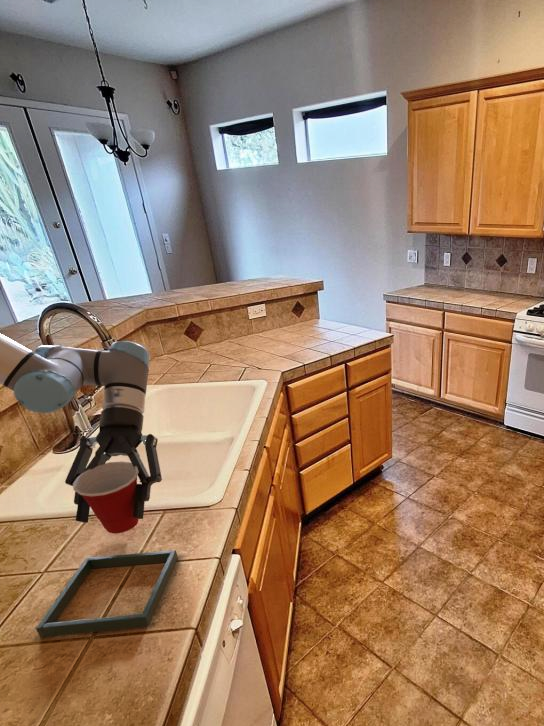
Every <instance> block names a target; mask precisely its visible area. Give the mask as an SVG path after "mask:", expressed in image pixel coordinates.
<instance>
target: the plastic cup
mask: <svg viewBox="0 0 544 726" xmlns="http://www.w3.org/2000/svg"><path fill="white" fill-rule="evenodd" d="M134 467H135V469H134ZM134 467H133V465H132V463H131V461H130V462H129V461H123V460H122V461H112V462H106V463H105V464H102V465H98V466H96V467H95V468H93V469H89V470H87V471H85V472H84V473H82V474H81V475H80V476H78V477H77V478H76V480H75V481H74V483H73V486H72V488H73V491H74V492H75V491H76V492H77V493H79V494H80V495H81V496H83V498H84V499H85V500H86V501H87V503H88V504H89V506H90V509H91V510H92V512H93V513H94V515H95V516H96V517H95V518H97V520H98V521H99V522H100V523H101V525H102V527H103V529H104V530H106V532H107V533H109V534H114V535H115V534H122V533H125V532H128V531H130V530H132V529H134V528H135V527H136V526H137V525H138V523H139V519H137V518H134V517H133V509H134V499H135V490H136V484H138V473H139V471H138V468H137V466H134Z"/></svg>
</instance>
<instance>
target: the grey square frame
mask: <svg viewBox="0 0 544 726" xmlns="http://www.w3.org/2000/svg"><path fill="white" fill-rule="evenodd" d="M178 560H179V556H178V553H177V550H176V549H175V550H174V549H173V550H165V551H164V550H162V551H151V552H149V551H148V552H139V553H138V552H137V553H126V554H116V555H115V554H114V555H102V556H92V557H86V558H85V559H84V560H83V561H82V563H81V564H80V566H79V567H78V568H77V570H76V572H75V573H74V574H73V576H72V577H71V579H70V580H69V581H68V582H67V584H66V585H65V587H64V589H63V590H62V591H61V592H60V594H59V595H58V597H57V598H56V599H55V601H54V602H53V604H52V605H51V607H50V608H49V609H48V610H47V612H46V613H45V615H44V616H43V618H42V619H41V620H40V622H39V624H38V625H36V628H35V630H36V631H37V634H38V635H39V637H40V638H50V637H51V638H52V637H60V636H68V635H77V634H78V635H79V634H88V633H98V632H106V631H115V630H125V629H126V630H127V629H134V628H143V627H150V624H151V621H152V619H153V617H154V615H155V613H156V610H157V608H158V606H159V603H160V601H161V600H162V599H161V598H162V596H163V594H164V593H165V590H166V588H167V585H168V583H169V581H170V578H171V576H172V574H173V572H174V569H175V567H176V565H177V563H178ZM163 563H165V564H164V566H163V568H162V570H161V572H160V574H159V576H158V579H157V581H156V583H155V585H154V587H153V589H152V591H151V594H150V596H149V598H148V599H147V602H146V604H145V607H144V608H143V611H142V613H135V614H127V615H126V614H124V615H117V616H105V617H98V618H96V617H95V618H87V619H77V620H76V619H75V620H69V621H59V622H58V620H59V619H60V617H61V616H62V615H63V613H64V612H65V610H66V609H67V607H68V606H69V604H70V602H71V601H72V600H73V598H74V597H75V595H76V594H77V592H78V591H79V589H80V588H81V586H82V584H83V583H84V582H85V580H86V578H87V577H88V576H89V574H90V573H91V572H92V570H93V569H105V568H116V567H118V568H119V567H126V566H129V567H130V566H139V565H152V564H163Z"/></svg>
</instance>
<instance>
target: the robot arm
mask: <svg viewBox="0 0 544 726" xmlns="http://www.w3.org/2000/svg"><path fill="white" fill-rule="evenodd" d="M149 372H150V352H149V351H148V350H147V349H146V347H144V346H143V345H141V344H139V343H138V342H133V341H129V340H121V341H114V342H113V343H111V345H110V346H109V348H108V350H96V349H88V348H80V347H79V348H78V347H69V346H64V345H58V344H57V345H47V344H46V345H45V344H44V345H40V346H37V347H36V348H35V349H34V351H32V350H31V349H29V348H27V347H25V346H23V345H22V344H20V343H18V342H17V341H14V340H13V339H11V338H9V337H7V336H5V335H4V334H1V333H0V385H2V386H4V387H6V388H8V389H9V390H11V391H13V394H14V398H15V400H16V401H17V402H18V403H19V404H20V405H21V407H23V408H24V409H26V410H28V411H30V412H33V413H38V414H52V413H55V412H58V411H59V410H61V409H62V408H64V407H65V406H66V405H68V404H69V403H71V402H72V401H73V399H74V398H75V395H76V394H77V393H78V392H79V391H80V390H81V389H82V388H83V386H92V387H93V386H94V387H104V389H103V398H102V405H101V408H102V410H101V411H100V417H99V424H98V425H99V426H98V427H99V430H98V431H99V432H98V433H97V435H96V436H94V437H92V436H91V437H86V436H81V437H80V438H79V448H78V451H77V453H76V455H75V457H74V460H73V462H72V464H71V467H70V469H69V471H68V474H67V476H66V478H65V480H64V482H65V485H68V486H71V487H73V483H74V481H75V480H76V478H77V477H78V476H80V475H81V474H82V473H84V472H85V471H87V470H89V469H93V468H95V467H96V466H98V465H102V464H106V463H107V462H108V461H110V460H111V458H112V457H118V456H123V457H128V459H129V461H130V463H132V465H133V467H134V466H137V468H138V471H139V473H138V475H137V478H138V479H139V483H137V484H136V490H135V499H134V509H133V517H134V518H137V519H138V520H143V519H144V513H145V511H144V510H145V502H149V501H150V498H151V489H152V485H154V484H155V483H160V482H162V480H163V478H162V473H161V472H162V471H161V466H160V461H159V457H158V451H157V445H158V442H159V441H158V438H157V437H156V436H155V435H153V434H152V433H149V434H146V435H143V433H142V431H143V426H144V417H145V416H144V413H145V409H146V396H147V387H148V379H149ZM97 444H98V445H99V447H98V448H97V449H96V451H95V453H94V456H93V457H92V454H93V451H94V449H95V448H96V445H97ZM141 444H143V445H144V448H145V454H146V459H147V464H148V470H149V471H147V468H146V466H145V465H144V463H143V461H142V459H141V456H140V455H141V454H140V453H139V451H138V449H137V448H138V447H139V446H140V445H141ZM91 457H92V459H91ZM90 459H91V460H90ZM134 469H135V467H134ZM148 472H149V473H148ZM73 504H74V505H76V507H77V509H76V515H75V522H79V523H83V524H85V523H89V518H90V517H89V516H90V509H91V507H90V506H89V504H88V503H87V501H86V500H85V499H84V498H83V496H81V495H80V494H79V493H77V492H76V491H74V497H73Z"/></svg>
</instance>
